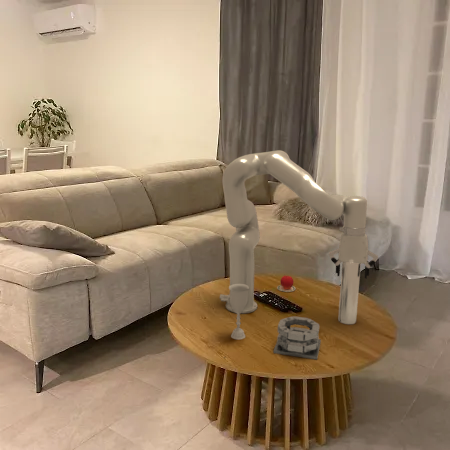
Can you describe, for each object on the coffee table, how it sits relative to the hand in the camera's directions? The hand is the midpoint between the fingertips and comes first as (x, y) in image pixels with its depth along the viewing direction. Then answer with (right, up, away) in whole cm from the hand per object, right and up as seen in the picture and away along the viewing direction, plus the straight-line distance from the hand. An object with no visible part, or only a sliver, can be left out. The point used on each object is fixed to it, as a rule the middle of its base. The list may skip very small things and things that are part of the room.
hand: (351, 276), depth 172 cm
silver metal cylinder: (-1, -17, +5) cm, 18 cm away
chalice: (-42, -20, -8) cm, 47 cm away
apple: (-20, -10, +35) cm, 41 cm away
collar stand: (-22, -22, -16) cm, 35 cm away
